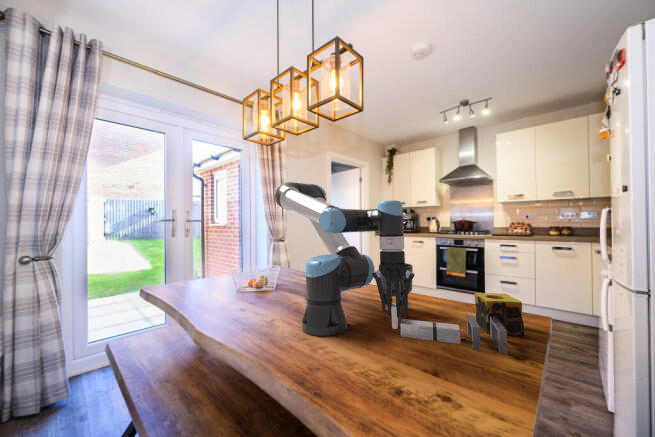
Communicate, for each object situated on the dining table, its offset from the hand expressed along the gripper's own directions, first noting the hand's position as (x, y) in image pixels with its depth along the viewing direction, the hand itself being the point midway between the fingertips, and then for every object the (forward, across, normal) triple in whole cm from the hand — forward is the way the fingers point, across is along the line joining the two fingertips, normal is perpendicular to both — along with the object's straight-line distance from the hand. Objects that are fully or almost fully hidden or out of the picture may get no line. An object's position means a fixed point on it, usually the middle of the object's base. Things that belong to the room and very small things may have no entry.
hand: (395, 327), depth 80 cm
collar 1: (+2, +21, 0) cm, 21 cm away
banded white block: (+2, +10, 0) cm, 10 cm away
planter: (+2, -2, +22) cm, 22 cm away
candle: (+3, +30, +14) cm, 33 cm away
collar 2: (+2, +27, 0) cm, 27 cm away
